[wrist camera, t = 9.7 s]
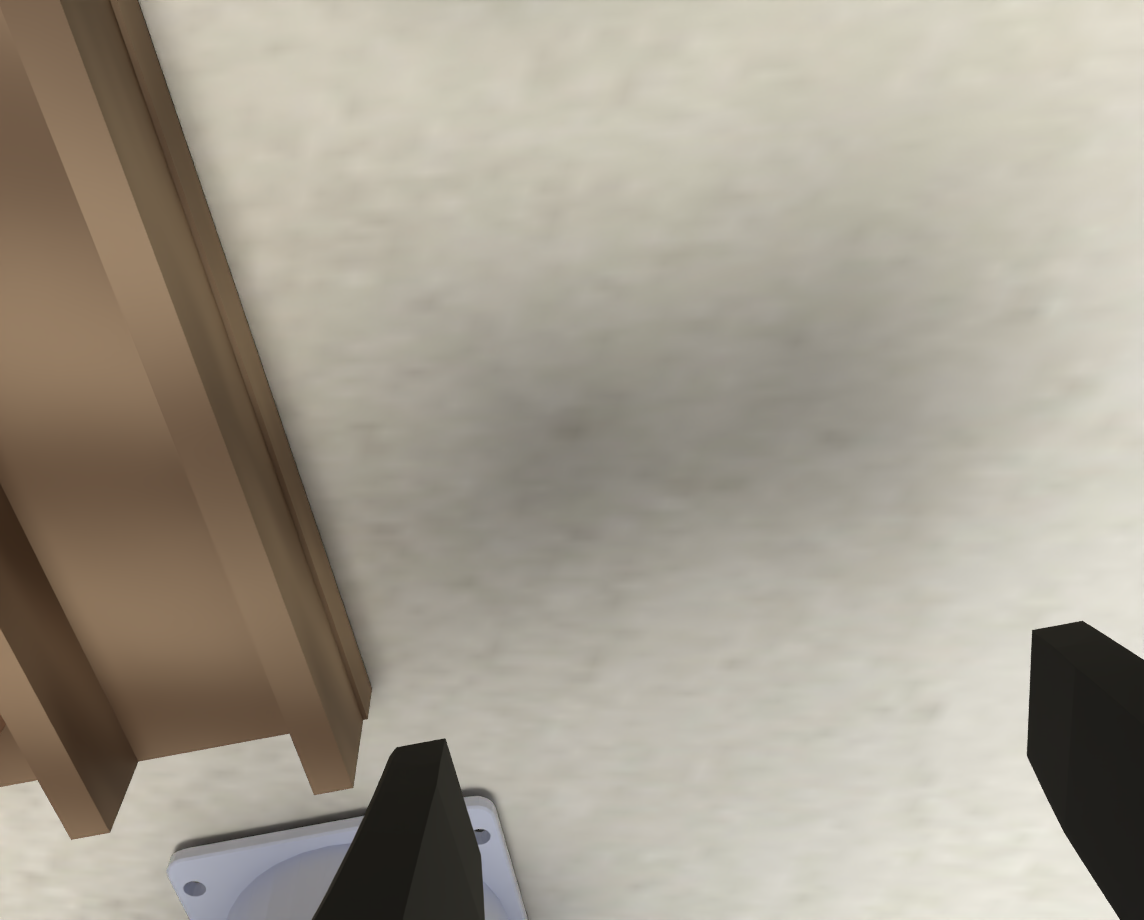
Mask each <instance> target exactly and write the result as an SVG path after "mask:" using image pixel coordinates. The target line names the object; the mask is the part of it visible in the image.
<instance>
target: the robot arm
mask: <svg viewBox="0 0 1144 920" xmlns="http://www.w3.org/2000/svg"><path fill="white" fill-rule="evenodd" d="M1027 757H1028V759H1029V761H1030V763H1031V765H1032V767H1033V770H1034V772H1035V774H1036V776H1037V778H1038V780H1039V782H1040V784H1041V787H1042V789H1043V791H1044V793H1045V795H1046V797H1047V799H1048V801H1049V803H1050V805H1051V807H1052V809H1053V811H1054V813H1055V815H1056V817H1057V819H1058V821H1059V823H1060V825H1061V827H1062V829H1063V831H1064V833H1065V835H1066V836H1067V838H1068V839H1069V841H1070V843H1071V844H1072V846H1073V847H1074V849H1075V851H1076V852H1077V854H1078V855H1079V857H1080V858H1081V860H1082V862H1083V863H1084V865H1085V866H1086V868H1087V869H1088V871H1089V872H1090V874H1091V876H1092V877H1093V879H1094V880H1095V882H1096V883H1097V885H1098V886H1099V888H1100V890H1101V891H1102V893H1103V894H1104V896H1105V897H1106V899H1107V900H1108V902H1109V903H1110V905H1111V906H1112V908H1113V910H1114V911H1115V913H1116V914H1117V916H1118V917H1119V919H1120V920H1144V660H1143V659H1141V658H1140V657H1138V656H1137V655H1135V654H1134V653H1132V652H1131V651H1129V650H1128V649H1126V648H1125V647H1123V646H1121V645H1120V644H1118V643H1117V642H1115V641H1114V640H1112V639H1111V638H1109V637H1107V636H1106V635H1104V634H1103V633H1101V632H1100V631H1098V630H1096V629H1095V628H1093V627H1092V626H1090V625H1088V624H1087V623H1085V622H1083V621H1079V622H1074V623H1069V624H1063V625H1058V626H1052V627H1047V628H1041V629H1036V630H1032V647H1031V671H1030V695H1029V719H1028V743H1027ZM476 829H484V830H485V831H483V832H475V831H474V830H476ZM167 876H168V878H169V880H170V882H171V884H172V886H173V888H174V890H175V892H176V894H177V896H178V898H179V900H180V902H181V904H182V906H183V908H184V909H185V911H186V913H187V915H188V917H189V919H190V920H528V918H527V915H526V911H525V908H524V904H523V901H522V897H521V894H520V890H519V887H518V883H517V880H516V876H515V873H514V870H513V866H512V863H511V859H510V856H509V852H508V849H507V845H506V842H505V838H504V835H503V831H502V828H501V824H500V821H499V818H498V814H497V811H496V807H495V806H494V804H493V802H492V801H490V800H489V799H487V798H485V797H481V796H469V797H464V798H463V794H462V791H461V788H460V785H459V781H458V778H457V775H456V771H455V768H454V765H453V762H452V758H451V755H450V752H449V749H448V745H447V742H446V739H439V740H434V741H429V742H423V743H418V744H412V745H407V746H401V747H396V749H395V750H394V751H393V753H392V754H391V755H390V757H389V759H388V761H387V764H386V766H385V769H384V771H383V774H382V776H381V778H380V781H379V783H378V786H377V788H376V790H375V793H374V795H373V797H372V799H371V802H370V804H369V806H368V808H367V811H366V813H365V815H364V816H360V817H355V818H349V819H344V820H338V821H333V822H327V823H322V824H316V825H311V826H306V827H300V828H295V829H289V830H284V831H278V832H273V833H267V834H262V835H256V836H251V837H246V838H240V839H235V840H229V841H224V842H218V843H213V844H207V845H202V846H197V847H191V848H186V849H182V850H179V851H177V852H175V853H174V854H173V855H172V856H171V859H170V862H169V865H168V868H167ZM193 881H197V882H200V883H195V882H193Z"/></svg>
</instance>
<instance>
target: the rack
mask: <svg viewBox="0 0 1144 920" xmlns="http://www.w3.org/2000/svg"><path fill="white" fill-rule="evenodd" d="M371 692H372V688H371V685H370V682H369V679H368V676H367V673H366V670H365V667H364V664H363V661H362V658H361V655H360V652H359V649H358V646H357V643H356V640H355V638H354V635H353V632H352V629H351V626H350V623H349V620H348V617H347V614H346V611H345V608H344V605H343V602H342V599H341V596H340V593H339V591H338V588H337V585H336V582H335V579H334V576H333V573H332V570H331V567H330V564H329V561H328V558H327V555H326V552H325V549H324V546H323V544H322V541H321V538H320V535H319V532H318V529H317V526H316V523H315V520H314V517H313V514H312V511H311V508H310V505H309V502H308V499H307V497H306V494H305V491H304V488H303V485H302V482H301V479H300V476H299V473H298V470H297V467H296V464H295V461H294V458H293V455H292V452H291V449H290V447H289V444H288V441H287V438H286V435H285V432H284V429H283V426H282V423H281V420H280V417H279V414H278V411H277V408H276V405H275V402H274V400H273V397H272V394H271V391H270V388H269V385H268V382H267V379H266V376H265V373H264V370H263V367H262V364H261V361H260V358H259V355H258V353H257V350H256V347H255V344H254V341H253V338H252V335H251V332H250V329H249V326H248V323H247V320H246V317H245V314H244V311H243V308H242V306H241V303H240V300H239V297H238V294H237V291H236V288H235V285H234V282H233V279H232V276H231V273H230V270H229V267H228V264H227V261H226V258H225V256H224V253H223V250H222V247H221V244H220V241H219V238H218V235H217V232H216V229H215V226H214V223H213V220H212V217H211V214H210V211H209V209H208V206H207V203H206V200H205V197H204V194H203V191H202V188H201V185H200V182H199V179H198V176H197V173H196V170H195V167H194V164H193V162H192V159H191V156H190V153H189V150H188V147H187V144H186V141H185V138H184V135H183V132H182V129H181V126H180V123H179V120H178V117H177V115H176V112H175V109H174V106H173V103H172V100H171V97H170V94H169V91H168V88H167V85H166V82H165V79H164V76H163V73H162V70H161V67H160V65H159V62H158V59H157V56H156V53H155V50H154V47H153V44H152V41H151V38H150V35H149V32H148V29H147V26H146V23H145V20H144V18H143V15H142V12H141V9H140V6H139V3H138V0H0V714H1V716H2V718H3V720H4V721H5V723H6V725H5V727H4V728H3V730H2V732H1V734H0V787H3V786H8V785H13V784H19V783H24V782H30V781H35V780H38V782H39V783H40V785H41V787H42V789H43V791H44V792H45V794H46V796H47V798H48V799H49V801H50V803H51V805H52V807H53V808H54V810H55V812H56V814H57V815H58V817H59V819H60V821H61V822H62V824H63V826H64V828H65V830H66V831H67V833H68V835H69V837H70V838H71V840H72V839H78V838H83V837H89V836H94V835H100V834H105V833H110V831H111V829H112V826H113V824H114V821H115V819H116V816H117V814H118V811H119V809H120V806H121V804H122V801H123V799H124V796H125V794H126V791H127V789H128V786H129V784H130V781H131V779H132V776H133V774H134V771H135V769H136V766H137V763H138V761H143V760H149V759H154V758H159V757H165V756H170V755H176V754H181V753H187V752H192V751H197V750H203V749H208V748H214V747H219V746H224V745H230V744H235V743H241V742H246V741H251V740H257V739H262V738H268V737H273V736H278V735H284V734H289V733H290V736H291V738H292V741H293V743H294V746H295V748H296V751H297V753H298V756H299V758H300V761H301V763H302V766H303V768H304V771H305V773H306V776H307V778H308V781H309V783H310V786H311V788H312V791H313V793H314V795H317V794H323V793H328V792H334V791H339V790H344V789H350V788H353V786H354V779H355V772H356V765H357V759H358V752H359V745H360V738H361V731H362V724H363V720H365V719H368V713H369V706H370V699H371Z"/></svg>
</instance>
